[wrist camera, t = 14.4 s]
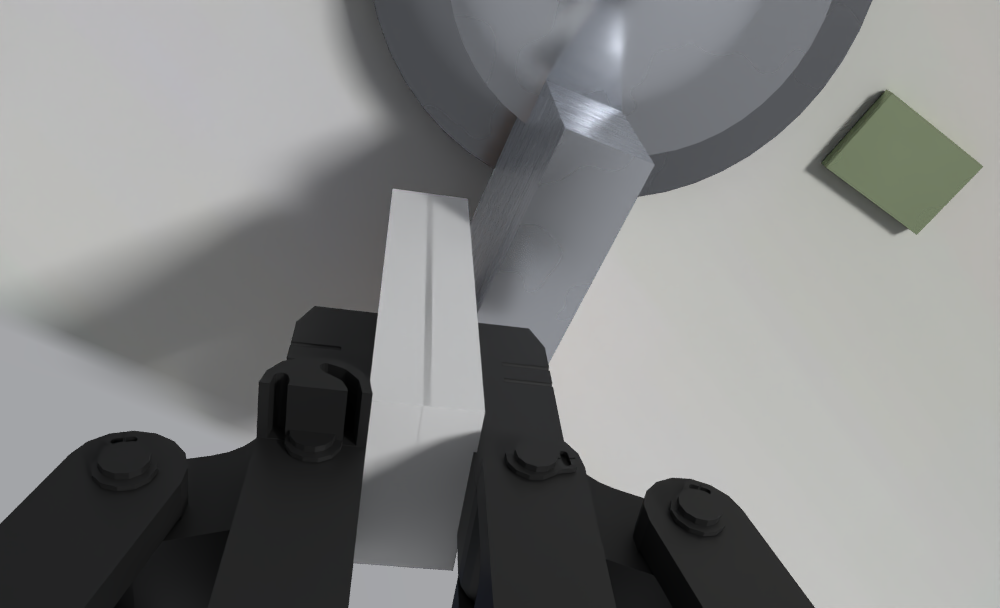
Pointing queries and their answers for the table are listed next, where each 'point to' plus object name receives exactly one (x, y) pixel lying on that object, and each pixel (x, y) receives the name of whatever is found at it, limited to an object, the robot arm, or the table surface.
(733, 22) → the lever with ball knob
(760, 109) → the base
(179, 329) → the table surface
